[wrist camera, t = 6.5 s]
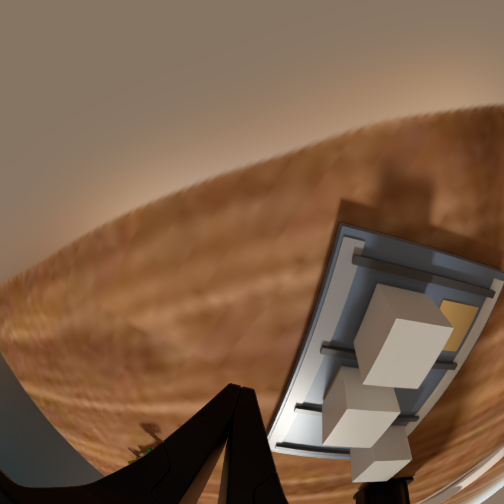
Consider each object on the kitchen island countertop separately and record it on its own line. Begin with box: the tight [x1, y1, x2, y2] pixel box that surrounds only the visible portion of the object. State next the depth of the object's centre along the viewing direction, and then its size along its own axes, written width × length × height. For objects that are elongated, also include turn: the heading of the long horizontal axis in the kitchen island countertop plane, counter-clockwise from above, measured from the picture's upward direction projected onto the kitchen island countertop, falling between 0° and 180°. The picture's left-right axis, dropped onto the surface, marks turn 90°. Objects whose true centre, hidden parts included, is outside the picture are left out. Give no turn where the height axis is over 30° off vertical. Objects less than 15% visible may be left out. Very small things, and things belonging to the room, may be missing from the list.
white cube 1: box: [353, 283, 454, 389], centre depth 13 cm, size 4×4×4 cm
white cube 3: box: [350, 426, 412, 482], centre depth 16 cm, size 4×4×4 cm
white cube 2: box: [322, 366, 400, 448], centre depth 15 cm, size 4×4×4 cm
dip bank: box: [267, 222, 504, 460], centre depth 17 cm, size 13×21×1 cm, turn 170°
